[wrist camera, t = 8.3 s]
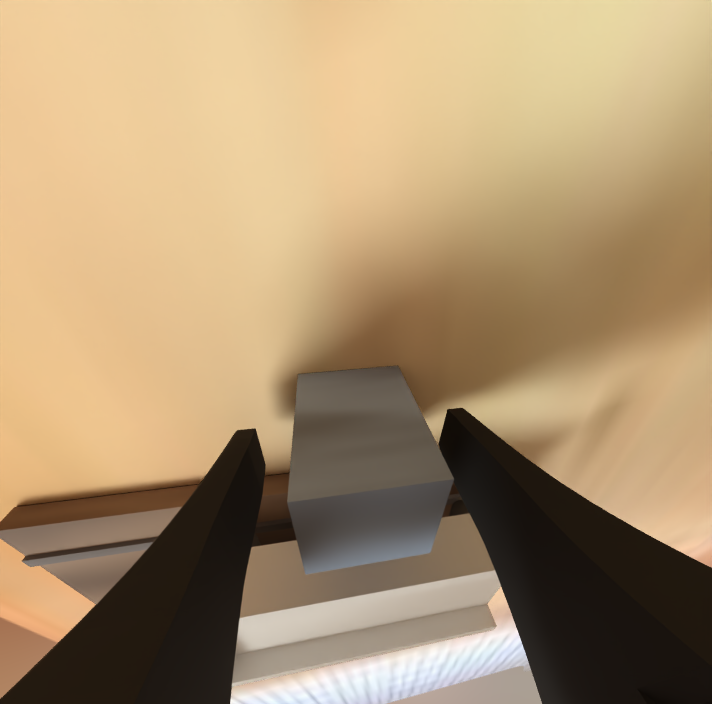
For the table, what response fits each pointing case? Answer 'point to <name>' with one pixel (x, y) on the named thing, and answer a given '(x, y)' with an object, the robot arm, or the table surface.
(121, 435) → the table surface
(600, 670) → the robot arm
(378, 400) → the block
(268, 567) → the shallow rimmed tray
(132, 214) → the table surface
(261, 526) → the track board
